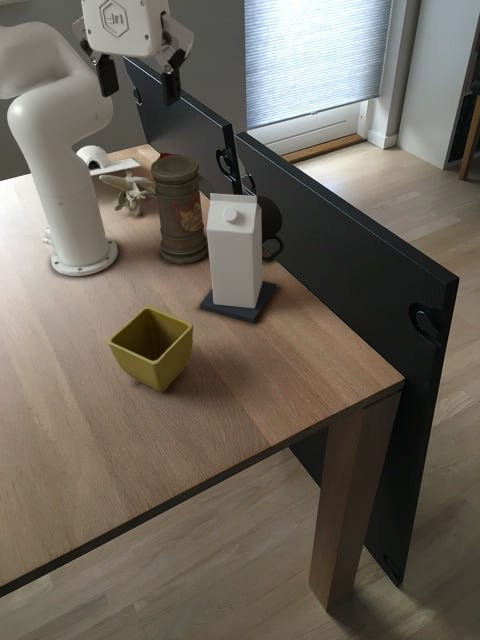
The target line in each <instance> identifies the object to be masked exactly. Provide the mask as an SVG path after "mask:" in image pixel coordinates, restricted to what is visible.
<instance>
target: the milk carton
mask: <svg viewBox="0 0 480 640" xmlns="http://www.w3.org/2000/svg"><path fill="white" fill-rule="evenodd" d="M209 195H210V196H209V197H210V202H209V208H208V215H207V223H206V237H207V243H208V257H209V267H210V279H211V290H213V301H214V304H217V305H226V306H236V307H245V308H255V306H256V303H257V299H258V296H259V292H260V289H261V285H262V281H263V260H262V256H263V244H262V231H261V208H260V206H259V205H258V204H257V196H258V195H256V196H255V195H243V194H228V193H213V192H212V193H211V192H210V194H209Z"/></svg>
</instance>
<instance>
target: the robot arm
mask: <svg viewBox="0 0 480 640" xmlns="http://www.w3.org/2000/svg"><path fill="white" fill-rule="evenodd" d="M80 2H81V8H82V9H81V10H82V16H81V17H80V18H78V20H76V21H74V23H72V24H71V26H70V29H71V31H72V33H73V34H74V36H75V38H76V39H77V41H78V42H79V46H80V48H81V49H82V51H83V52H84V53H85V54H86V55H87V56H88V58H89V62H90V64H91V65H92V66H95V69H96V73H95V72H94V71H93V69H91V67H90V66H89V65H88V64H87V63H86V61H85V60H84V59H83V57H81V56H80V54H78V52H77V51H76V50H75V49H74V47H73V46H72V45H71V44H70V43H69V41H67V39H66V38H65V37H64V36H63V34H61V33H60V32H59V31H58V30H57V29H56V28H54V27H52V25H49V24H48V23H45V22H42V21H28V22H24V23H20V24H17V25H13V26H3V25H1V24H0V100H9V99H13V98H15V99H14V100H13V101H12V102H11V103H10V105H9V107H8V109H7V114H6V119H7V124H8V127H9V130H10V132H11V134H12V136H13V138H14V139H15V141H16V143H17V145H18V147H19V149H20V151H21V153H22V155H23V157H24V160H25V162H26V164H27V166H28V168H29V171H30V174H31V177H32V179H33V183H34V185H35V188H36V191H37V195H38V197H39V200H40V204H41V207H42V210H43V213H44V216H45V219H46V222H47V226H48V227H46V228H45V230H44V235H45V236H42V238H41V243H43V244H46V245H49V246H50V245H51V248H52V252H51V255H50V263H51V266H52V267H53V269H54V270H55V271H56V272H58V273H60V274H62V275H65V276H71V277H83V276H88V275H92V274H96V273H99V272H102V271H103V270H105V269H107V268H108V267H109V266H111V265H112V264H113V263H114V261H115V260H116V259H117V258H118V253H119V250H118V246H117V243H116V242H115V241H114V240H113V239H112V238H111V237H108V236H107V234H106V231H105V226H104V223H103V218H102V215H101V211H100V206H99V203H98V198H97V193H96V189H95V186H94V185H95V184H94V181H93V178H92V176H91V174H90V170H89V168H88V166H87V164H86V162H85V161H84V160H83V159H82V158H81V157H79V156H78V155H77V154H76V153H77V152H75V151H74V150H73V145H75V144H77V142H79V141H81V140H83V139H85V138H87V137H89V136H91V135H93V134H95V133H98V131H101V130H103V129H104V128H106V127H107V126H108V125H109V124H110V123H111V122H112V119H113V116H114V103H113V100H112V98H111V96H112V95H114V94H115V93H118V91H120V84H119V78H118V72H117V68H116V63H115V61H114V59H113V58H111V56H118V57H127V58H138V59H151V58H153V59H154V60H155V61H156V63H157V64H158V65H159V67H160V68H161V69H162V70H163V72H162V73H160V84H161V93H162V99H163V104H164V105H165V107H171V106H172V105H174V104H176V103H177V102H178V101H180V100H181V97H182V96H181V95H182V84H181V76H180V68H182V66H183V64H184V63H185V62H186V60H187V59H188V58H189V56H190V55H191V49H192V48H193V47H192V46H193V44H194V41H195V38H196V35H195V33H194V32H193V31H192V30H191V29H189V28H188V27H186V26H185V25H183V24H182V23H181V22H179V21H178V20H176V19H175V18H173V17H172V16H171V12H170V5H169V0H80ZM174 38H175V39H176V40H177V42H178V43H177V47H176V48H177V49H176V50H175V48H174V47H173V46H172V45H173V41H174V40H173V39H174Z"/></svg>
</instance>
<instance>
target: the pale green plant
mask: <svg viewBox="0 0 480 640" xmlns="http://www.w3.org/2000/svg"><path fill="white" fill-rule="evenodd" d="M123 170H124V172H125V175H126V176H125V177H120V176H116V175H111V174H99V177H98V178H99V180H101V181H102V182H103V183H105V184H107V185H110V186H113V187H116V188H118V189H121V191H120V192H119V194H118V196H117V199H116V202H115V205H114V207H113V208H114V211H115V212H116V211H120V210H122V209H123V208H124V207H125V208H126V209H128V210H131V212H132V213H133V214H134V215H135V216H136V217H138V216H140V215H141V205H140V200H141V199H145V200H146V197H147V195H148V196H149V198H152V197H153V198H154V199H155V198H156V193H155V182H154V181H151V180H150V179H148V178H146V177H144V176H143V177H142V176H141V177H140V176H133V171H132V168H128V169H123Z"/></svg>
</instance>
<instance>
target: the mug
mask: <svg viewBox="0 0 480 640" xmlns="http://www.w3.org/2000/svg"><path fill="white" fill-rule="evenodd" d="M256 196H257V204H258V205H259V206H260V208H261V231H262V245H263V244H264V243H265V242H268V240H275V241H276V242H278V243H279V248H278V249H277V250H275V252H273V253H271V254H270V255H267V256H263V255H262V262H263V261H264V262H268V261H272V260H274V259H275V258H276V257H278V256H279V255H280V254H282V253H283V251H284V249H285V242H284V240H283V239H282V238H281V237H280V236H278V235H277V234H278V233H279V232H280V231H281V230H282V227H283V215H282V213H280V212H281V210H280V208H279V207H278V205H277V204H276V202H274V201H273V200H272V199H271V198H269V197H267V196H264V195H256Z"/></svg>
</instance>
